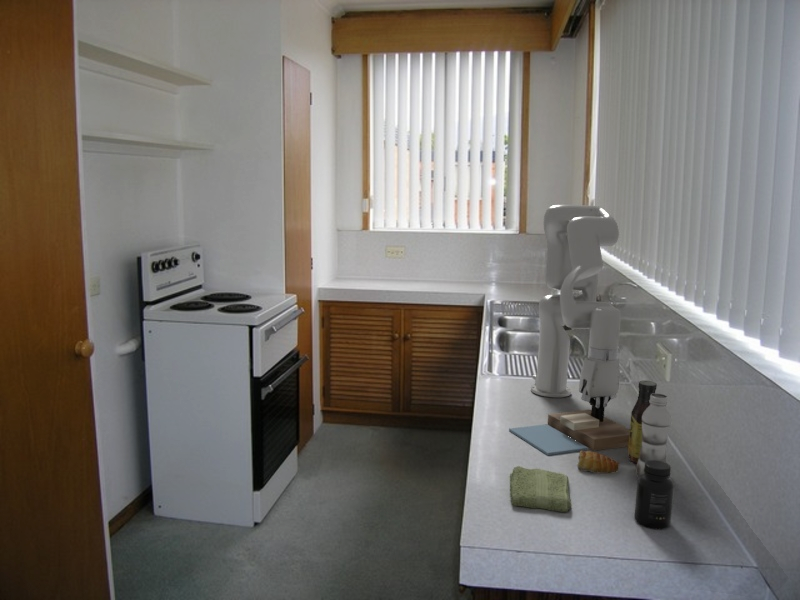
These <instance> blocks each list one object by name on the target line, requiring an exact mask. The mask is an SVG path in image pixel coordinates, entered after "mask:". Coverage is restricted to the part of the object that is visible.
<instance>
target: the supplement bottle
mask: <svg viewBox="0 0 800 600" xmlns="http://www.w3.org/2000/svg"><path fill="white" fill-rule="evenodd" d="M670 477H671V465H670V464H669V463H667V462H666V463H665V462H662V461H656V460H650V461H646V462H645V467H644V474H642V475H640V476H639V477H638V478H637V483H636V484H637V485H636V494H635V495H636V496H635V503H634V512H633V513H634V515H633V517H634V520H635V522H636V523H638V524H639V525H640V526H641V527H645V528H647V529H652V530H665V529H668V527H670V526H671V520H672V513H673V503H674V493H675V483H674V481H673V480H672V478H670Z"/></svg>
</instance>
